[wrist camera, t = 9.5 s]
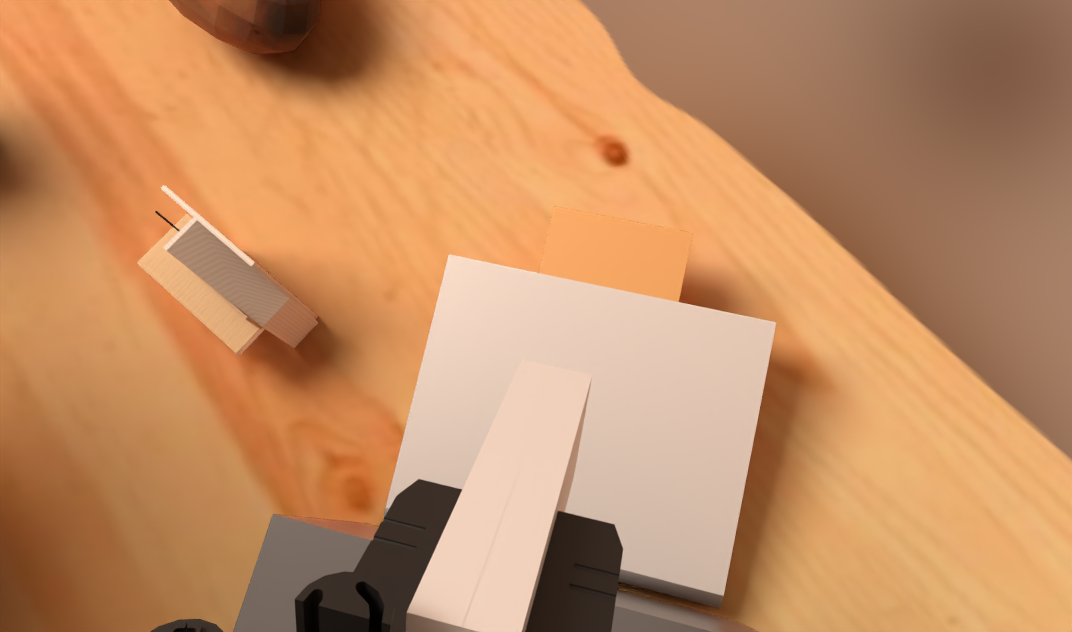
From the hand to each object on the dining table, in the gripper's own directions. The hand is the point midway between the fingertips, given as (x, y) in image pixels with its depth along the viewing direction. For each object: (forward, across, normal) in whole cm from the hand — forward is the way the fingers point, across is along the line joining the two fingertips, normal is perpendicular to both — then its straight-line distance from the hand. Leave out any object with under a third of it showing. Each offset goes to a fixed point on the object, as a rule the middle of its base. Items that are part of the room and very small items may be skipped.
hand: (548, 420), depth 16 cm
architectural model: (+16, -16, -9) cm, 25 cm away
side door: (+9, 0, -13) cm, 16 cm away
